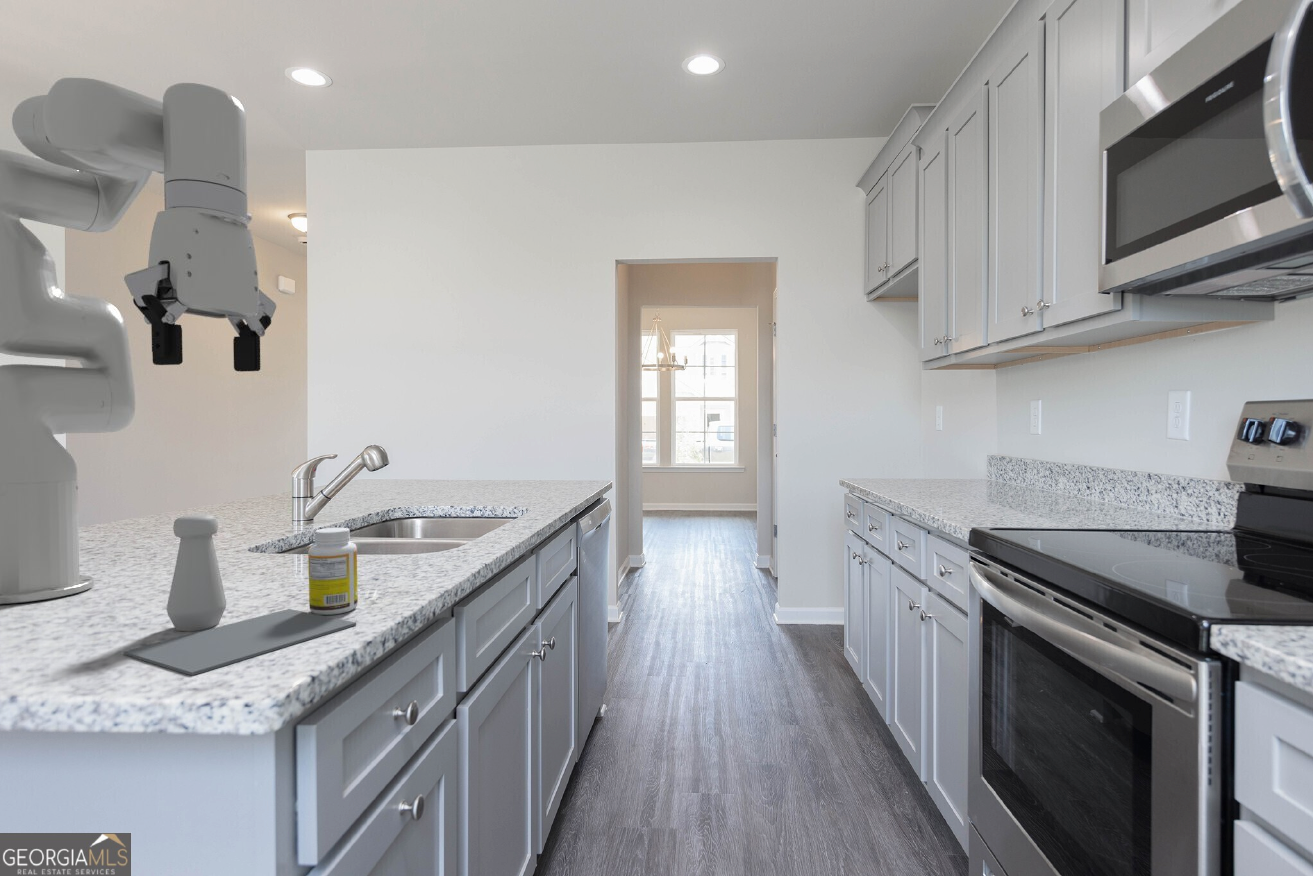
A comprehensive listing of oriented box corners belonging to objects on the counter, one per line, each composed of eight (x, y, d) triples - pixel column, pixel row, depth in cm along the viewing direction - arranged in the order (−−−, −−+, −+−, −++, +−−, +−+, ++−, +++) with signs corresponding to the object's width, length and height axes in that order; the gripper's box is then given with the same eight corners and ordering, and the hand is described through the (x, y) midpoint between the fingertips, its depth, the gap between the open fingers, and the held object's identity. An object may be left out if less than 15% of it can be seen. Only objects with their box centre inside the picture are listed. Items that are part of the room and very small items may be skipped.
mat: (123, 654, 71) (123, 651, 71) (289, 611, 86) (289, 608, 86) (192, 675, 65) (192, 672, 65) (356, 625, 80) (356, 622, 80)
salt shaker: (196, 635, 77) (194, 519, 76) (153, 632, 78) (151, 518, 78) (238, 620, 82) (236, 512, 82) (197, 618, 84) (196, 511, 83)
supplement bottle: (334, 602, 91) (333, 525, 90) (367, 606, 88) (366, 527, 88) (298, 613, 85) (297, 531, 85) (332, 618, 83) (331, 534, 83)
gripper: (245, 232, 84) (248, 373, 84) (97, 186, 67) (101, 362, 67) (297, 228, 82) (299, 372, 82) (157, 179, 65) (160, 360, 65)
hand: (209, 368), depth 75 cm, fingers open, 9 cm apart
